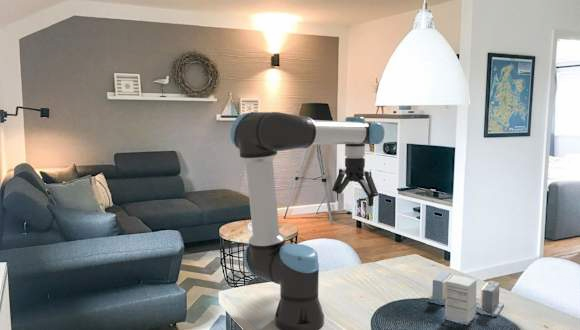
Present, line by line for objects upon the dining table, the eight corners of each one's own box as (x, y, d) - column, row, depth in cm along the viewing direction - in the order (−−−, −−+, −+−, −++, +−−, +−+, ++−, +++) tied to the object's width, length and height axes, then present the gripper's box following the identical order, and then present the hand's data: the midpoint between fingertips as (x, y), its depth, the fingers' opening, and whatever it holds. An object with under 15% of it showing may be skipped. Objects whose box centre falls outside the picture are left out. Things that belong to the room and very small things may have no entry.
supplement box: (452, 312, 155) (453, 274, 154) (476, 318, 150) (477, 279, 149) (443, 320, 149) (444, 280, 148) (467, 326, 145) (469, 285, 143)
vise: (496, 317, 151) (497, 293, 150) (427, 302, 163) (427, 279, 162) (503, 306, 160) (504, 282, 159) (437, 292, 172) (438, 270, 171)
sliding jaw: (442, 301, 161) (443, 281, 160) (432, 299, 163) (432, 279, 162) (452, 292, 169) (452, 273, 168) (441, 290, 171) (442, 271, 170)
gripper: (388, 158, 178) (387, 215, 180) (336, 154, 196) (335, 206, 198) (376, 159, 173) (375, 218, 175) (323, 156, 190) (323, 208, 192)
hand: (354, 212), depth 186 cm, fingers open, 13 cm apart
